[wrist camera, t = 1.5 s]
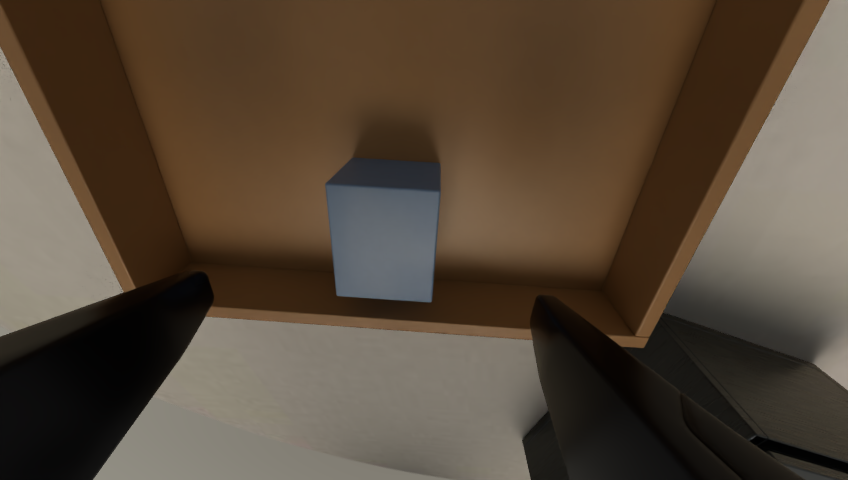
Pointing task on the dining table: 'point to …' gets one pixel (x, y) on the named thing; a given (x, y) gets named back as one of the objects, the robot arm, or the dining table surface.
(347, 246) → the blue-grey block
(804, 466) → the black cupboard
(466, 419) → the dining table surface
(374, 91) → the laundry tray
